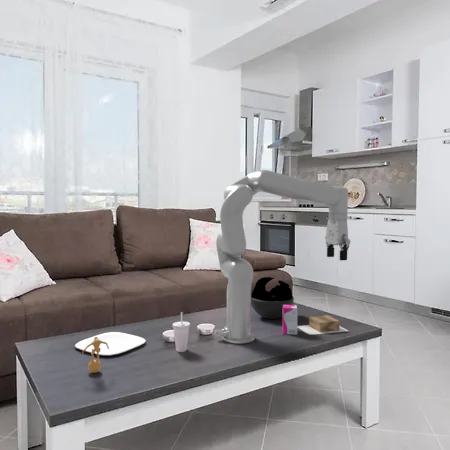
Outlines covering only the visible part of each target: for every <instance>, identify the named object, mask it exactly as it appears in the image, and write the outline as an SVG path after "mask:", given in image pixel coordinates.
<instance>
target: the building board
mask: <svg viewBox="0 0 450 450" xmlns="http://www.w3.org/2000/svg"><path fill="white" fill-rule="evenodd" d="M297 329H300V330H301V331H303V333H305V334H307V335H309V336H310V335H311V336H312V335H321V334H331V333H333V334H334V333H342V332H349V330H348V329H346V328H344V327H342V326H341V325H339V331H330V332H318V331H317V330H315V329H313V328H311V327H310V326H309V324H306V325H304V324H303V325H297Z"/></svg>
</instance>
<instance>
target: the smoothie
mask: <svg viewBox="0 0 450 450" xmlns="http://www.w3.org/2000/svg"><path fill="white" fill-rule="evenodd" d="M190 327H191V323H190V322H189V321H184V320H183V311H182V312H181V311H180V321H176V322H173V323H172V328H173V337H174V343H175V344H174V345H175V351H176V352H179V353H184V352H186V351H187V349H188V341H189V332H190Z"/></svg>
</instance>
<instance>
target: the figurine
mask: <svg viewBox="0 0 450 450" xmlns="http://www.w3.org/2000/svg"><path fill="white" fill-rule="evenodd" d="M101 343H103V344H106V346H107V349H109V346H108V344H107V343H106V342H103V341H100V340H99V339H98V338H97V337H95V338H94V341H93V342H92V343H91V344H89V345H88V346H87V347H90V346H91V345H93V346H94V349H92V352H91V353H90V354H91V359H92V360H91V361H89V362H88V363H87V364H88V365H87V370H88V371H89V372H90V373H92V374H93V373H94V374H96V373H98V372H99V371H101V368H102V363H101V361H100V360H99V359H100V355H99V354H98V353H99V352H100V350H101V348H99V346H100V344H101ZM87 347H86V348H85V349H84V351H82V355H84V352H85V350H86V349H87ZM95 351H96V352H97V355H96V359H95V354H94V353H95Z"/></svg>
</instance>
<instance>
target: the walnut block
mask: <svg viewBox="0 0 450 450" xmlns="http://www.w3.org/2000/svg"><path fill="white" fill-rule="evenodd" d="M340 322H341V321H340V320H338V319H336V318H334V317H332V316H330V315H328V314H326V315H316V316H309V317H308V325H309V326H310V327H311V328H313V329H315V330H317V331H318V332H330V331H339V326H340Z"/></svg>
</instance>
